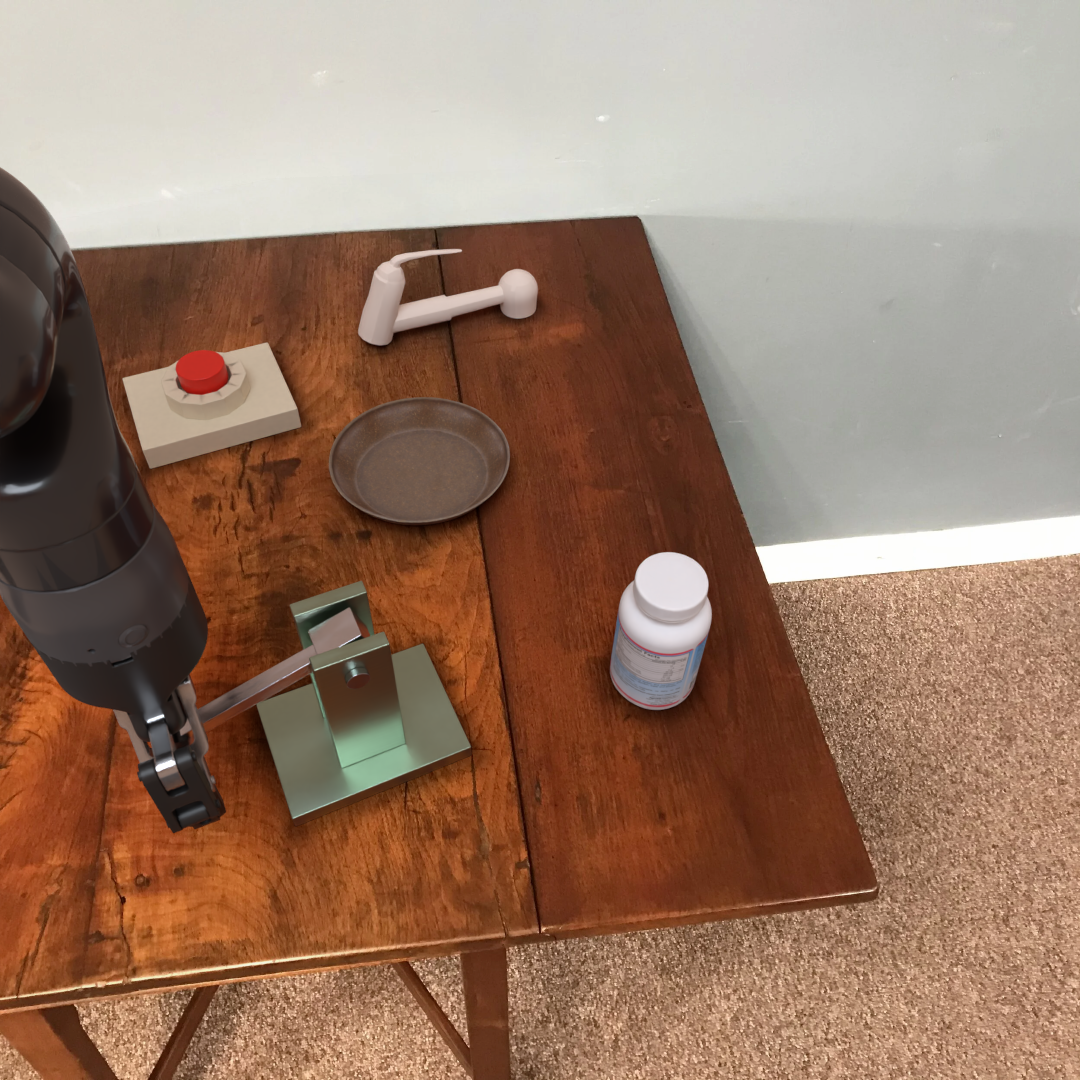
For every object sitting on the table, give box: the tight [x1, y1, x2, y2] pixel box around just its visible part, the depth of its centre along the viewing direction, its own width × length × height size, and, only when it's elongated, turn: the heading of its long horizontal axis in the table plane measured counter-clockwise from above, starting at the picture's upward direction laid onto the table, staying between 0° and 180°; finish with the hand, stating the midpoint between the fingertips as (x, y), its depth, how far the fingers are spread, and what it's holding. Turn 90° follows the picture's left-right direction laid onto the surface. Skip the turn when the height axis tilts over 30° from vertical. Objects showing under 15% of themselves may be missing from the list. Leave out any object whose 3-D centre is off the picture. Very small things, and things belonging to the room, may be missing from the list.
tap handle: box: [172, 607, 370, 743], centre depth 55 cm, size 13×5×2 cm, turn 115°
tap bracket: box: [256, 580, 473, 827], centre depth 58 cm, size 12×9×13 cm
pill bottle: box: [609, 551, 713, 711], centre depth 63 cm, size 6×6×11 cm
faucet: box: [357, 248, 539, 346], centre depth 91 cm, size 4×18×10 cm, turn 113°
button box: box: [121, 342, 302, 469], centre depth 82 cm, size 13×10×4 cm
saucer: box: [328, 396, 511, 526], centre depth 78 cm, size 15×15×3 cm
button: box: [176, 349, 228, 395], centre depth 80 cm, size 4×4×2 cm
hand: (191, 755), depth 56 cm, fingers open, 8 cm apart
